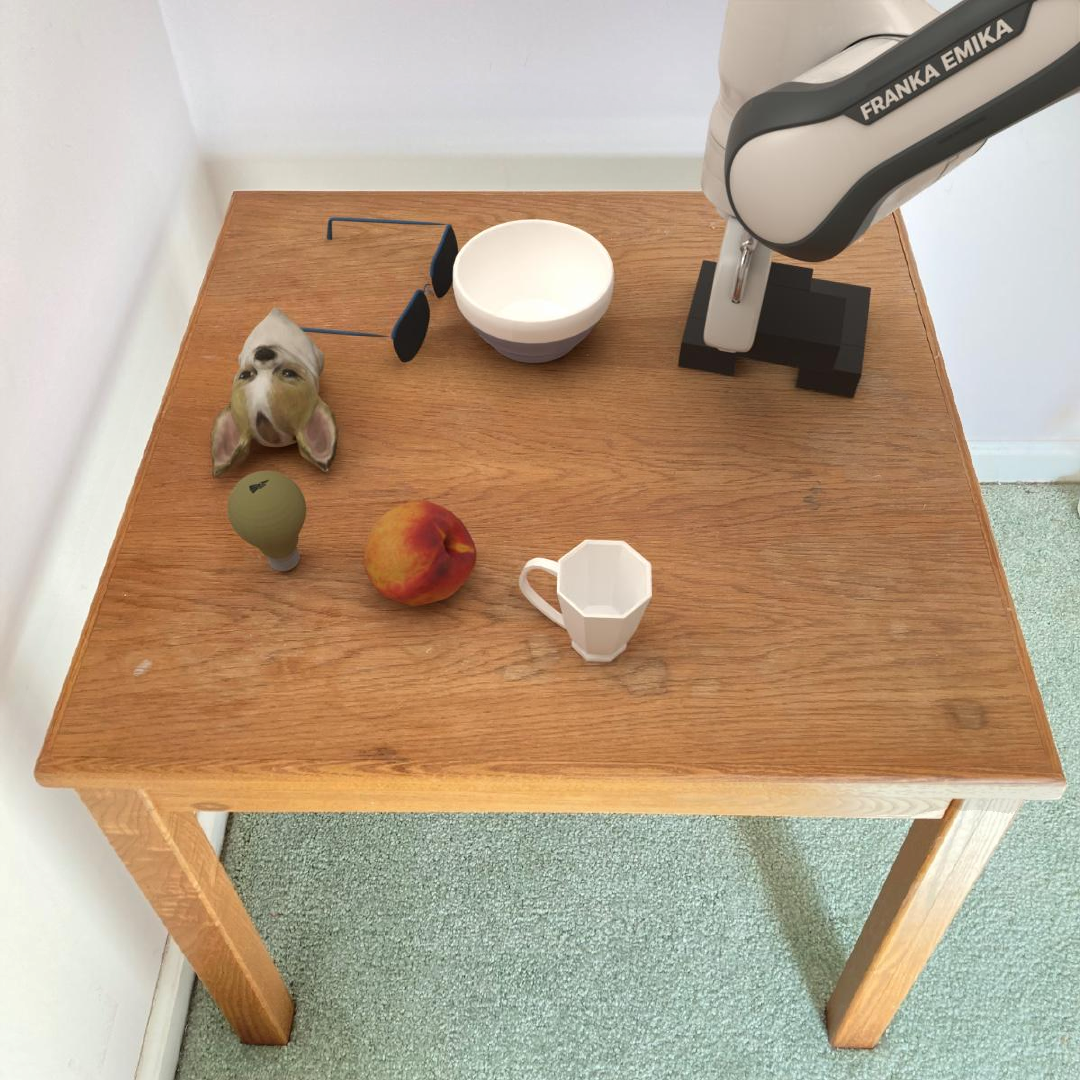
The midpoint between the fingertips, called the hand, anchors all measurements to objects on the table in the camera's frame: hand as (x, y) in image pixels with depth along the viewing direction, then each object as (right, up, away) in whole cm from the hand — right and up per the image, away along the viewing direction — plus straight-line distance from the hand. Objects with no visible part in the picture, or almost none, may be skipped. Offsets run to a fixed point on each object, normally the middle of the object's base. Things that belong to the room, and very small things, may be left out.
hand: (734, 315), depth 84 cm
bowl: (-17, +1, +13) cm, 21 cm away
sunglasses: (-33, +5, +16) cm, 37 cm away
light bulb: (-36, -20, -3) cm, 42 cm away
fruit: (-25, -22, -4) cm, 34 cm away
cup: (-13, -25, -6) cm, 29 cm away
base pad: (+6, +1, +13) cm, 14 cm away
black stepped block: (+4, -1, +2) cm, 4 cm away
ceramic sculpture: (-38, -9, +6) cm, 40 cm away
